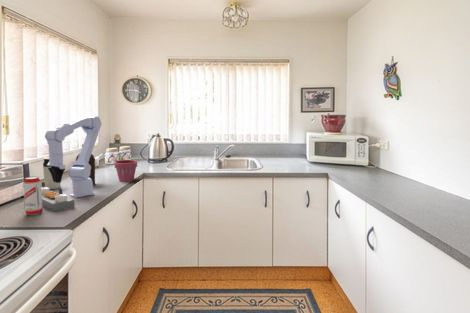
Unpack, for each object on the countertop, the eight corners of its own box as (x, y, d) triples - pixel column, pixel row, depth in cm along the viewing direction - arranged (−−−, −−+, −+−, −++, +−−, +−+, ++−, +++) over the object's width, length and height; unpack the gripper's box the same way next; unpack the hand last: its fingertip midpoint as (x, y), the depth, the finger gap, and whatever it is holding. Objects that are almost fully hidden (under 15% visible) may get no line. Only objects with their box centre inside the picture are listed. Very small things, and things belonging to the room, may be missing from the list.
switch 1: (52, 194, 150) (51, 191, 150) (54, 193, 148) (53, 191, 148) (44, 195, 147) (43, 193, 147) (46, 195, 146) (45, 192, 146)
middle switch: (55, 195, 148) (54, 192, 148) (57, 195, 146) (56, 192, 146) (47, 196, 145) (46, 194, 145) (48, 196, 143) (48, 194, 143)
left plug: (46, 191, 154) (46, 180, 154) (49, 193, 152) (49, 181, 151) (38, 193, 151) (37, 181, 150) (40, 194, 149) (40, 183, 148)
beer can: (32, 211, 135) (29, 176, 133) (46, 211, 135) (43, 176, 133) (22, 215, 129) (19, 179, 127) (36, 216, 129) (33, 179, 126)
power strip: (51, 197, 158) (51, 190, 157) (74, 207, 142) (74, 199, 141) (32, 200, 151) (31, 194, 150) (53, 211, 135) (53, 204, 134)
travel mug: (55, 189, 173) (53, 158, 171) (41, 189, 173) (39, 158, 171) (63, 186, 181) (61, 156, 178) (50, 186, 181) (48, 156, 179)
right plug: (64, 199, 142) (63, 186, 141) (67, 200, 140) (66, 188, 139) (54, 200, 139) (54, 188, 138) (58, 202, 137) (57, 189, 136)
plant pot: (130, 183, 192) (130, 163, 191) (110, 182, 195) (109, 162, 193) (141, 178, 206) (141, 160, 205) (122, 177, 209) (121, 159, 207)
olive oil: (100, 183, 190) (98, 144, 186) (86, 187, 180) (84, 145, 176) (87, 182, 193) (85, 143, 190) (73, 185, 183) (70, 144, 180)
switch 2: (58, 196, 146) (57, 194, 146) (60, 196, 144) (59, 194, 144) (50, 198, 143) (49, 195, 143) (52, 198, 141) (51, 195, 141)
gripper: (40, 153, 146) (42, 181, 148) (53, 156, 137) (54, 185, 139) (56, 152, 152) (57, 179, 153) (69, 155, 143) (70, 183, 145)
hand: (57, 182), depth 147 cm, fingers closed
